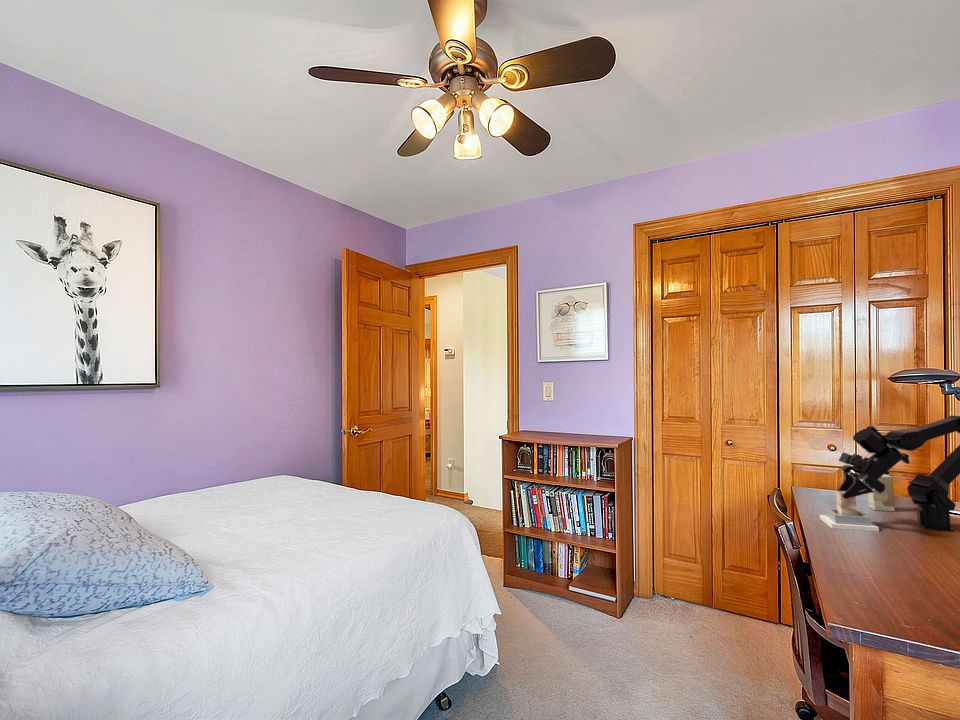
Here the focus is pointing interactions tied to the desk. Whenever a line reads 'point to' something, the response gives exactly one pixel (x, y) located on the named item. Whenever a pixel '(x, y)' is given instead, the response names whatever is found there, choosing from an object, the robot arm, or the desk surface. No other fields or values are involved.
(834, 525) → the square tray
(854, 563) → the desk surface
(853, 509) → the block
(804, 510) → the desk surface
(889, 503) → the skincare box
